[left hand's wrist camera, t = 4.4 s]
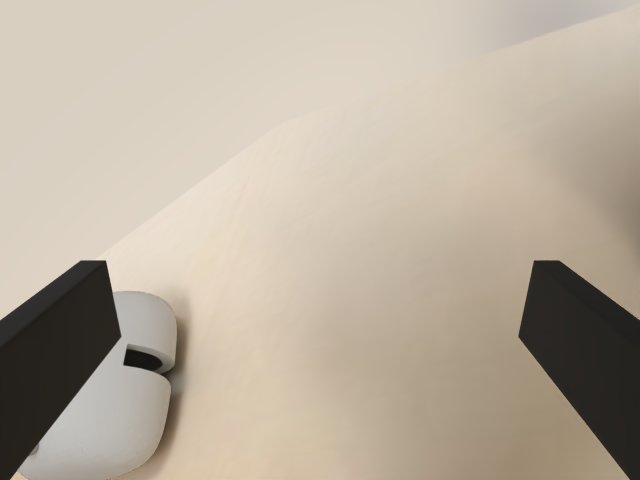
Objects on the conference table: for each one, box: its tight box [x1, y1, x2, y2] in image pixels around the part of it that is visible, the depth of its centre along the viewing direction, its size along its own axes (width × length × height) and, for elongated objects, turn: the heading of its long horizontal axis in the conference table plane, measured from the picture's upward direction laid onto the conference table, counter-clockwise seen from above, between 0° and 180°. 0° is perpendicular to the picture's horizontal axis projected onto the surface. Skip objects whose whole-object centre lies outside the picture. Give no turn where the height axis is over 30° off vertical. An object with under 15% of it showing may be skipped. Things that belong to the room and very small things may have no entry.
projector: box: [17, 291, 177, 480], centre depth 38 cm, size 22×23×15 cm
